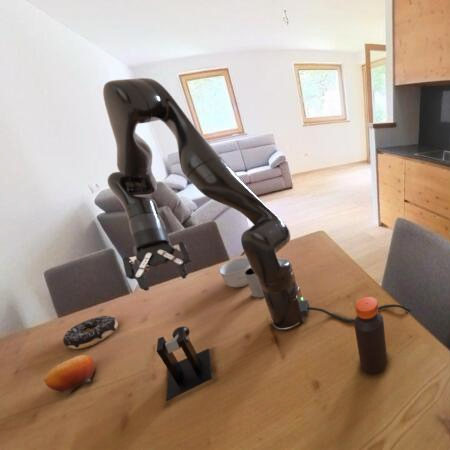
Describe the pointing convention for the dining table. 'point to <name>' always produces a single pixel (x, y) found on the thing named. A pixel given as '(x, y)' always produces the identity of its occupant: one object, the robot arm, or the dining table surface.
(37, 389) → the dining table surface
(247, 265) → the teacup
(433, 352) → the dining table surface
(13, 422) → the dining table surface
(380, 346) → the bottle
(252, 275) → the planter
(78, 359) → the fruit
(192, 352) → the bracket
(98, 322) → the donut
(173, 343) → the lever
